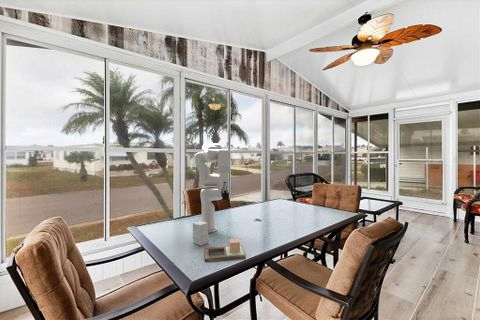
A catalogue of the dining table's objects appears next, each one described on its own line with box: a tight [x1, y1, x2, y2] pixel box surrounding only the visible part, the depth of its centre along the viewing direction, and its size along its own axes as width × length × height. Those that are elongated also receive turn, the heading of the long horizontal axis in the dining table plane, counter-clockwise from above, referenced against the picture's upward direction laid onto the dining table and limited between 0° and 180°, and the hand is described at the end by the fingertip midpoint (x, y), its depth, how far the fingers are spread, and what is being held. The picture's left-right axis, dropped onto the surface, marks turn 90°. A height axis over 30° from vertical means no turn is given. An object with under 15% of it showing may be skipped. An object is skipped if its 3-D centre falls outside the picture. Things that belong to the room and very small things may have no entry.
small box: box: [192, 220, 209, 247], centre depth 142 cm, size 8×6×13 cm
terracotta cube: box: [228, 238, 241, 253], centre depth 127 cm, size 6×6×6 cm
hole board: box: [204, 244, 247, 263], centre depth 126 cm, size 14×22×2 cm, turn 98°
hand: (224, 198), depth 134 cm, fingers open, 9 cm apart
